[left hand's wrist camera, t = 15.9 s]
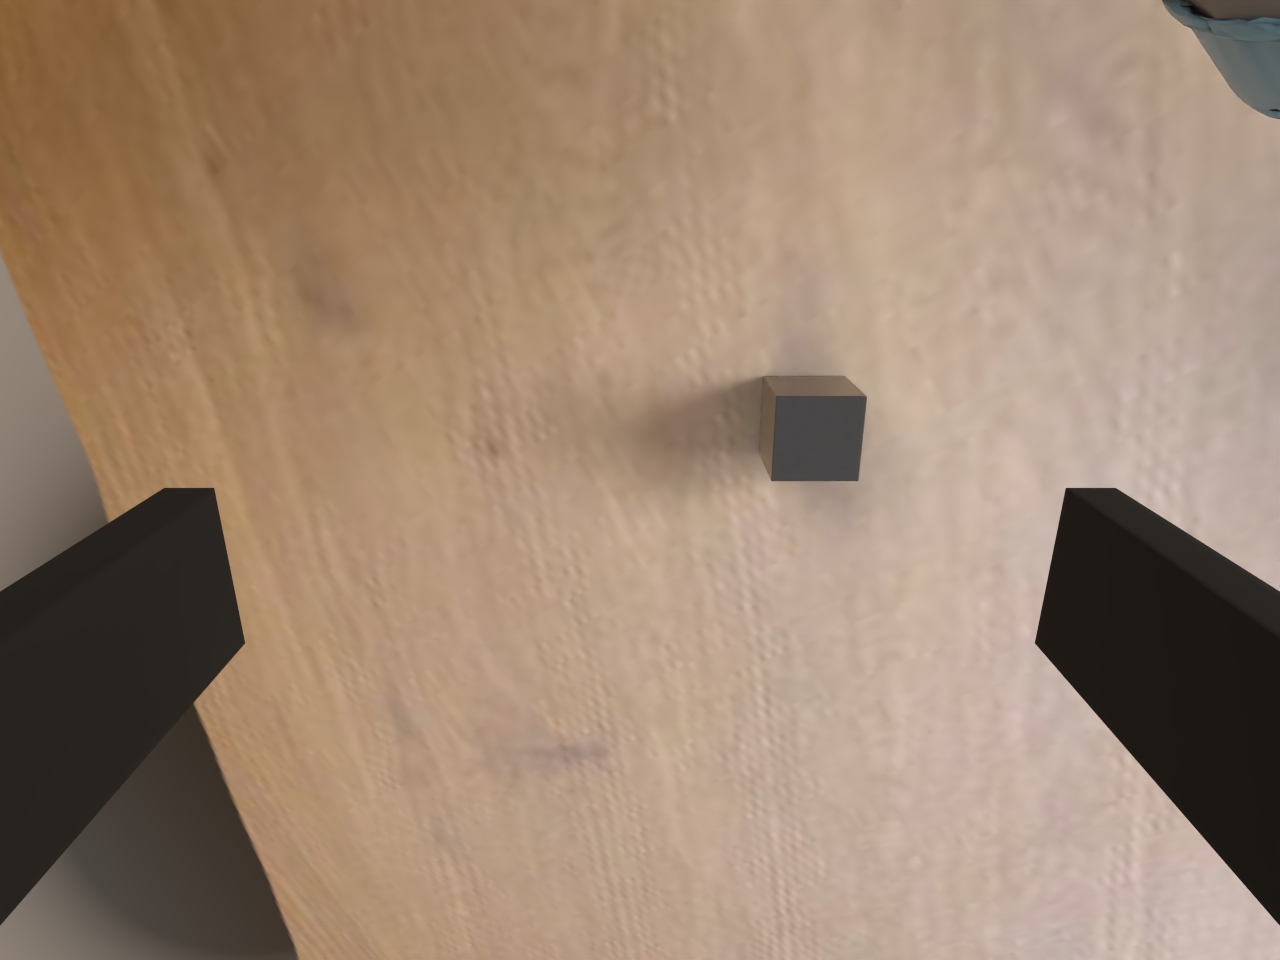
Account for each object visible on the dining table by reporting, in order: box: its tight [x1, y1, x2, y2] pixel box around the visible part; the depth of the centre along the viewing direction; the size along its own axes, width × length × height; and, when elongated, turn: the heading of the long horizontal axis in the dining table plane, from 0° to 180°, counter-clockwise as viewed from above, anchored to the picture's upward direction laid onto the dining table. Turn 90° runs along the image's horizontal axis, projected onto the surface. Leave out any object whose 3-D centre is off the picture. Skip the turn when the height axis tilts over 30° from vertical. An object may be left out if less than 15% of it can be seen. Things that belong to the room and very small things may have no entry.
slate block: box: [759, 376, 867, 481], centre depth 37 cm, size 4×4×4 cm
